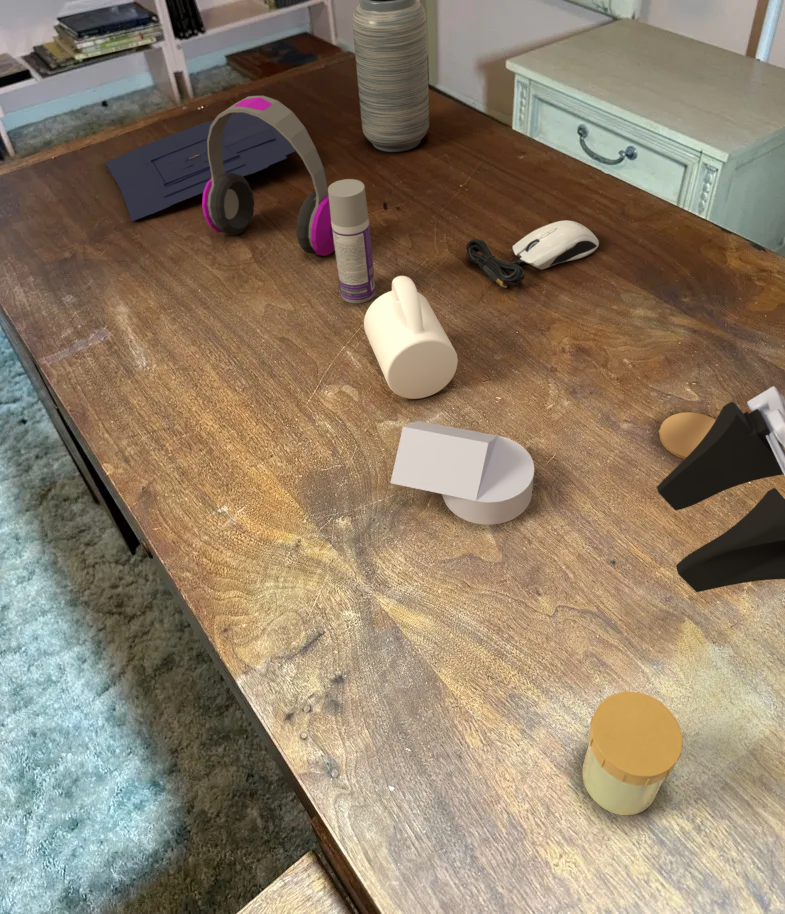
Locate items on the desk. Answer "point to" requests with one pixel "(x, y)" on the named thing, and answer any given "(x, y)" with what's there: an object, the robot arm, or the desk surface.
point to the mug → (409, 342)
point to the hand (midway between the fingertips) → (675, 536)
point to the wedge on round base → (466, 471)
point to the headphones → (233, 197)
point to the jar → (615, 789)
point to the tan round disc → (684, 432)
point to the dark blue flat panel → (193, 162)
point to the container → (352, 240)
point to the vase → (392, 72)
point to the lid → (635, 738)
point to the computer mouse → (535, 251)
